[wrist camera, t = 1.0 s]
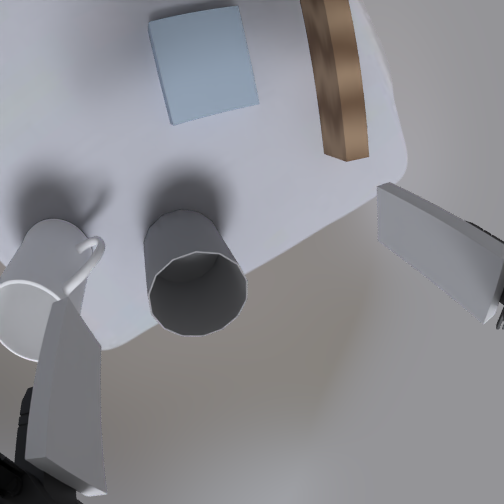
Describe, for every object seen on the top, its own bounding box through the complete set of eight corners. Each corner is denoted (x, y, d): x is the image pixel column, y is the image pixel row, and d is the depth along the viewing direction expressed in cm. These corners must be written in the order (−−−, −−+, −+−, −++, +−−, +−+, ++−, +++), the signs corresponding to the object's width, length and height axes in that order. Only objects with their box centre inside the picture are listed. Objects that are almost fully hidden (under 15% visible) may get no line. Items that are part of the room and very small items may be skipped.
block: (147, 30, 23) (148, 21, 20) (227, 14, 25) (238, 5, 22) (170, 123, 28) (173, 125, 25) (247, 103, 30) (259, 104, 27)
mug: (93, 187, 28) (69, 234, 18) (132, 256, 33) (134, 326, 23) (9, 242, 27) (-34, 305, 17) (50, 301, 31) (30, 376, 21)
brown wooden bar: (290, -41, 23) (309, -55, 19) (314, -39, 23) (335, -52, 20) (324, 153, 35) (346, 161, 31) (345, 149, 35) (368, 156, 32)
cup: (231, 256, 37) (262, 306, 28) (170, 292, 36) (183, 351, 28) (196, 194, 32) (219, 231, 24) (129, 235, 32) (127, 286, 23)
